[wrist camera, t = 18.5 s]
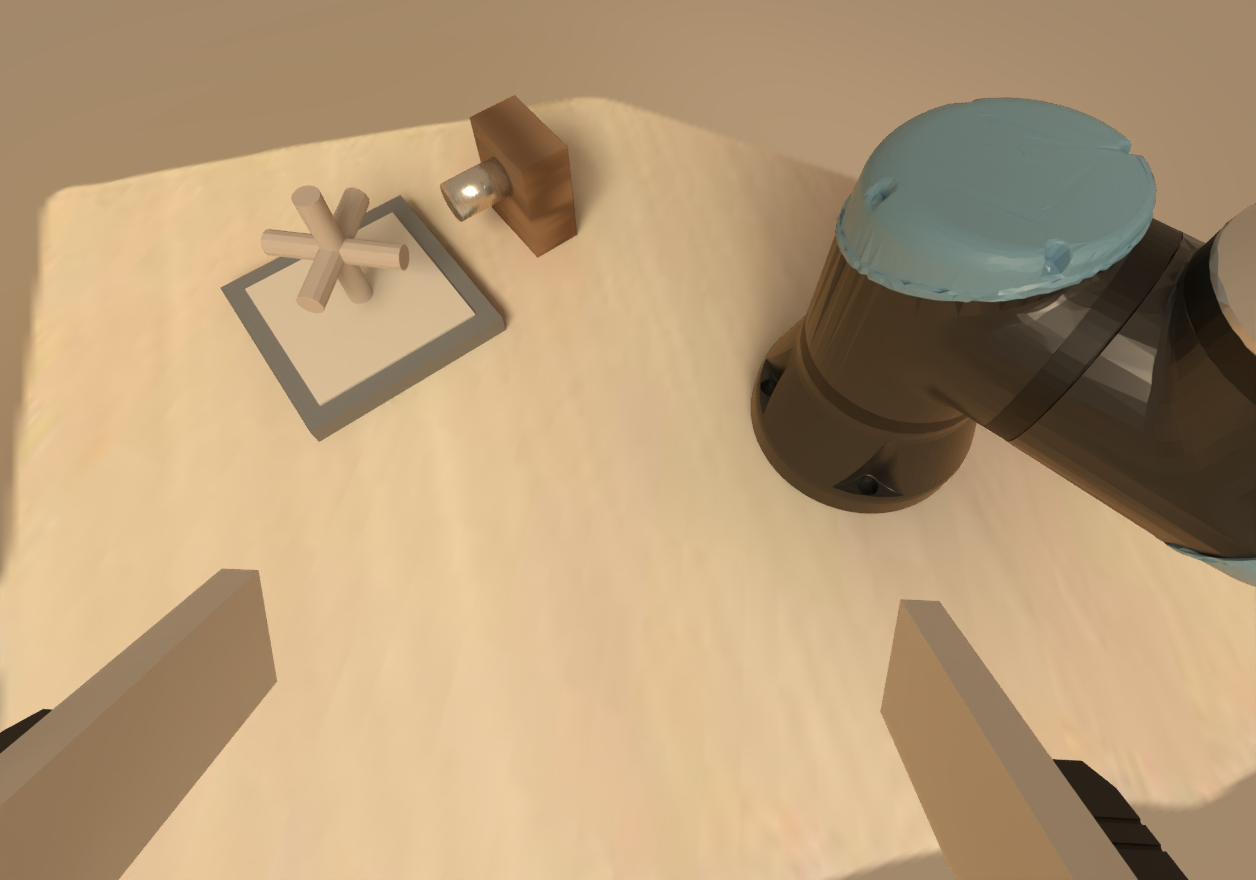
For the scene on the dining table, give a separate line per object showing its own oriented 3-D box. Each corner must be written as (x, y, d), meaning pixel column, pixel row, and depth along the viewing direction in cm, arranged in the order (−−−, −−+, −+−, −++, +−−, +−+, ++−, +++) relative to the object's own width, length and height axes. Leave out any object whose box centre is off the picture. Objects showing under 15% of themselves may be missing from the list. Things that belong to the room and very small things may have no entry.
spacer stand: (503, 157, 62) (483, 64, 54) (608, 267, 56) (604, 182, 48) (230, 299, 55) (160, 217, 47) (319, 441, 49) (257, 376, 41)
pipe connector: (275, 340, 51) (199, 246, 42) (320, 238, 56) (261, 134, 47) (404, 355, 50) (356, 264, 42) (440, 252, 55) (403, 149, 46)
